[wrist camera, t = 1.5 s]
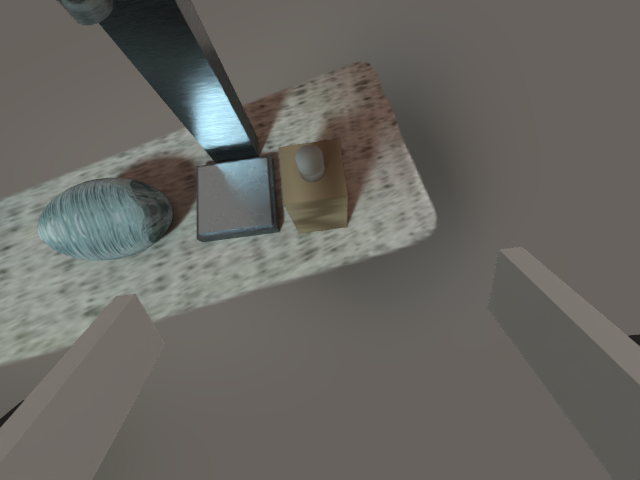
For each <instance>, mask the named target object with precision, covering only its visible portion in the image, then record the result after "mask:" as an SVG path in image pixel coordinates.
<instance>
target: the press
mask: <svg viewBox="0 0 640 480" xmlns="http://www.w3.org/2000/svg"><path fill="white" fill-rule="evenodd" d="M56 1H57V2H58V3H59V4H60V5H61V6H62V7H63V8H64V9H65V10H66V11H67V13H68V14H69V15H70V16H71V17H72V18H73V19H74V20H75V21H76V22H77V23H79V24H81V25H93V24H97V23H99V24H100V25H101V26H102V27H103V29H104V30H105V31H106V32H107V33H108V35H109V36H110V37H111V38H112V40H113V41H114V42H115V43H116V44H117V46H118V47H119V48H120V49H121V50H122V52H123V53H124V54H125V55H126V56H127V58H128V59H129V60H130V61H131V62H132V63H133V65H134V66H135V67H136V68H137V69H138V71H139V72H140V73H141V74H142V75H143V77H144V78H145V79H146V80H147V81H148V83H149V84H150V85H151V86H152V87H153V89H154V90H155V91H156V92H157V93H158V95H159V96H160V97H161V98H162V99H163V101H164V102H165V103H166V104H167V105H168V107H169V108H170V109H171V110H172V111H173V112H174V114H175V115H176V116H177V117H178V118H179V120H180V121H181V122H182V123H183V124H184V126H185V127H186V128H187V129H188V130H189V132H190V133H191V134H192V135H193V136H194V138H195V139H196V140H197V141H198V142H199V144H200V145H201V146H202V147H203V148H204V149H205V151H206V152H207V153H208V154H209V155H210V157H211V158H212V159H213V160H214V161H215V163H217V164H210V165H203V166H197V240H199V241H201V242H207V241H215V240H223V239H230V238H238V237H246V236H253V235H261V234H268V233H276V232H279V221H278V208H277V195H276V183H275V170H274V161H273V159H272V156H265V157H259V152H258V138H257V136H256V134H255V131H254V129H253V127H252V125H251V123H250V121H249V119H248V117H247V115H246V113H245V111H244V109H243V107H242V105H241V103H240V100H239V99H238V96H237V94H236V92H235V90H234V88H233V86H232V84H231V82H230V80H229V78H228V76H227V74H226V72H225V70H224V67H223V65H222V63H221V61H220V59H219V57H218V55H217V53H216V51H215V49H214V47H213V45H212V43H211V41H210V39H209V36H208V34H207V33H206V30H205V28H204V26H203V24H202V22H201V20H200V18H199V16H198V14H197V12H196V10H195V8H194V6H193V4H192V1H191V0H56ZM256 157H258V158H256ZM249 158H251V159H249ZM242 159H244V160H242ZM235 160H237V161H235ZM228 161H230V162H228ZM221 162H223V163H221Z"/></svg>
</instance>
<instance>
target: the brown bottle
mask: <svg viewBox="0 0 640 480" xmlns="http://www.w3.org/2000/svg"><path fill="white" fill-rule="evenodd" d="M279 157H280V169H281V181H282V192H283V204H284V206H285V208H286V210H287V212H288V213H289V215H290V217H291V219H292V221H293V223H294V224H295V226H296V228H297V230H298V232H299V233H306V232H314V231H322V230H329V229H337V228H345V227H347V208H348V193H347V186H346V179H345V172H344V166H343V159H342V152H341V145H340V138H339V139H332V140H326V141H319V142H312V143H305V144H298V145H291V146H284V147H279Z"/></svg>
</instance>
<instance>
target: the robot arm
mask: <svg viewBox="0 0 640 480" xmlns="http://www.w3.org/2000/svg"><path fill="white" fill-rule="evenodd" d="M488 310H489V312H490V313H491V314H492V316H493V317H494V318H495V320H496V321H497V322H498V324H499V325H500V327H501V328H502V329H503V330H504V332H505V333H506V335H507V336H508V338H509V339H510V340H511V342H512V343H513V344H514V346H515V347H516V349H517V350H518V351H519V353H520V354H521V355H522V357H523V358H524V359H525V361H526V362H527V364H528V365H529V366H530V368H531V369H532V370H533V372H534V373H535V375H536V376H537V377H538V379H539V380H540V381H541V383H542V384H543V385H544V387H545V388H546V389H547V391H548V392H549V394H550V395H551V396H552V398H553V399H554V401H555V402H556V403H557V405H558V406H559V407H560V409H561V410H562V411H563V413H564V414H565V415H566V417H567V418H568V420H569V421H570V422H571V424H572V425H573V427H574V428H575V429H576V431H577V432H578V433H579V435H580V436H581V438H582V439H583V440H584V441H585V443H586V444H587V446H588V447H589V448H590V450H591V451H592V453H593V454H594V455H595V457H596V458H597V459H598V461H599V462H600V463H601V465H602V466H603V468H604V469H605V470H606V472H607V473H608V474H609V476H610V477H611V479H612V480H640V335H631V336H627V335H626V334H625V333H623V332H622V331H621V330H620V329H619V328H617V327H616V326H615V325H614V324H613V323H611V322H610V321H609V320H608V319H607V318H606V317H604V316H603V315H602V314H601V313H600V312H598V311H597V310H596V309H595V308H594V307H592V306H591V305H590V304H589V303H588V302H586V301H585V300H584V299H583V298H582V297H581V296H579V295H578V294H577V293H576V292H575V291H574V290H572V289H571V288H570V287H569V286H568V285H567V284H565V283H564V282H563V281H562V280H560V279H559V278H558V277H557V276H556V275H555V274H553V273H552V272H551V271H550V270H549V269H548V268H546V267H545V266H544V265H543V264H542V263H540V262H539V261H538V260H537V259H536V258H535V257H533V256H532V255H531V254H530V253H529V252H527V251H526V250H525V249H524V248H522V247H516V248H508V249H500V250H499V253H498V258H497V263H496V268H495V273H494V278H493V283H492V289H491V293H490V299H489V303H488ZM164 346H165V344H164V342H163V340H162V338H161V337H160V335H159V333H158V331H157V330H156V328H155V326H154V325H153V323H152V321H151V319H150V318H149V316H148V314H147V313H146V311H145V309H144V307H143V306H142V304H141V302H140V301H139V299H138V297H137V296H136V294H133V295H124V296H116V297H115V298H114V299H113V300H112V302H111V303H110V304H109V305H108V306H107V307H106V308H105V309H104V311H103V312H102V313H101V314H100V315H99V316H98V317H97V319H96V320H95V321H94V322H93V323H92V324H91V325H90V327H89V328H88V329H87V330H86V331H85V332H84V333H83V334H82V336H81V337H80V338H79V339H78V340H77V341H76V342H75V344H74V345H73V346H72V347H71V348H70V349H69V350H68V352H67V353H66V354H65V355H64V356H63V357H62V358H61V359H60V361H59V362H58V363H57V364H56V365H55V366H54V368H53V369H52V370H51V371H50V372H49V373H48V374H47V375H46V377H45V378H44V379H43V380H42V381H41V382H40V383H39V384H38V386H37V387H36V388H35V389H34V390H33V391H32V392H31V394H30V395H29V396H28V397H27V398H26V399H25V400H23V401H22V402H20V403H19V404H18V405H17V406H15V407H14V408H13V409H12V410H11V411H9V412H8V413H7V414H6V415H5V416H3V417H2V418H1V419H0V480H92V479H93V477H94V475H95V473H96V471H97V470H98V468H99V466H100V464H101V462H102V460H103V459H104V457H105V455H106V453H107V451H108V449H109V448H110V446H111V444H112V442H113V440H114V438H115V437H116V435H117V433H118V431H119V429H120V427H121V426H122V424H123V422H124V420H125V418H126V416H127V415H128V413H129V411H130V409H131V407H132V405H133V404H134V402H135V400H136V398H137V396H138V394H139V392H140V390H141V389H142V387H143V385H144V383H145V381H146V380H147V378H148V376H149V374H150V372H151V370H152V368H153V366H154V365H155V363H156V361H157V359H158V358H159V356H160V354H161V352H162V350H163V348H164Z"/></svg>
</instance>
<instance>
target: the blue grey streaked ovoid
mask: <svg viewBox="0 0 640 480" xmlns="http://www.w3.org/2000/svg"><path fill="white" fill-rule="evenodd" d="M172 218H173V212H172V206H171V204H170V202H169V200H168V199H167V197H166V196H165V195H164V194H163V193H162V192H160V191H159V190H157V189H156V188H154V187H152V186H150V185H148V184H146V183H143V182H140V181H137V180H132V179H126V178H103V179H96V180H91V181H87V182H84V183H81V184H78V185H76V186H73V187H71V188H69V189H67V190H66V191H64V192H62V193H61V194H59V195H58V196H56V197H55V198H54V199H53V200H52V201H51V202H50V203H49V204H48V205H47V206H46V208H45V209H44V211H43V213H42V214H41V216H40V218H39V222H38V229H37V231H38V235H39V237H40V238H41V240H42V241H44V242H45V243H46V244H47V245H48V246H50V247H51V248H53V249H54V250H56V251H59V252H61V253H63V254H65V255H68V256H71V257H75V258H79V259H87V260H113V259H119V258H124V257H127V256H131V255H134V254H136V253H138V252H140V251H143V250H145V249H147V248H149V247H150V246H152V245H153V244H154V243H156V242H157V241H158V240H159V239H160V238H161V237H162V236H163V235H164V233H165V232H166V231H167V229H168V228H169V226H170V224H171V222H172Z"/></svg>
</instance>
